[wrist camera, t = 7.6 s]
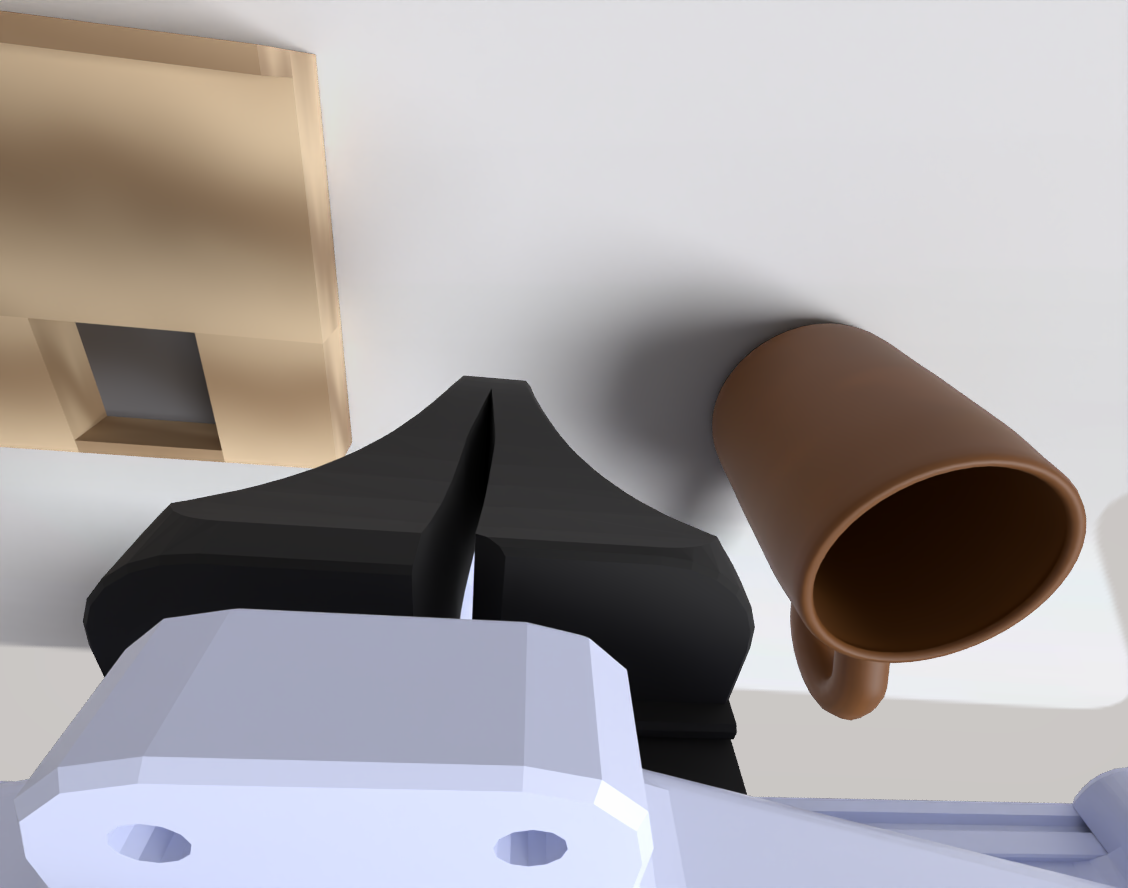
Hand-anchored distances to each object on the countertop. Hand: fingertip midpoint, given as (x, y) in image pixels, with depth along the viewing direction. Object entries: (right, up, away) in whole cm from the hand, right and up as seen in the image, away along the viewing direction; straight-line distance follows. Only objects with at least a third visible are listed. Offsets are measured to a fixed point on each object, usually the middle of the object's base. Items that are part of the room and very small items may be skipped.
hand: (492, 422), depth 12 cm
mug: (+11, -1, +13) cm, 17 cm away
